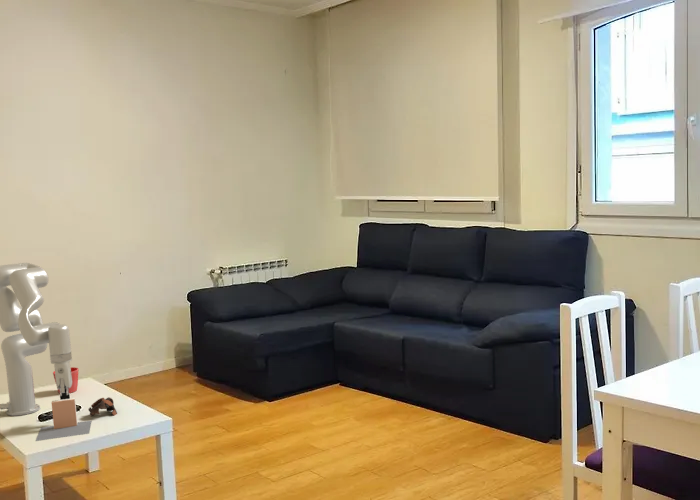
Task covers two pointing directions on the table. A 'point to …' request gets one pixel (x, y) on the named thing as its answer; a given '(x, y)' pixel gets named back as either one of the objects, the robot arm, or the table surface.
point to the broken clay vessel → (102, 406)
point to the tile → (64, 413)
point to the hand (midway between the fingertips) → (65, 405)
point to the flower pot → (74, 380)
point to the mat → (64, 431)
